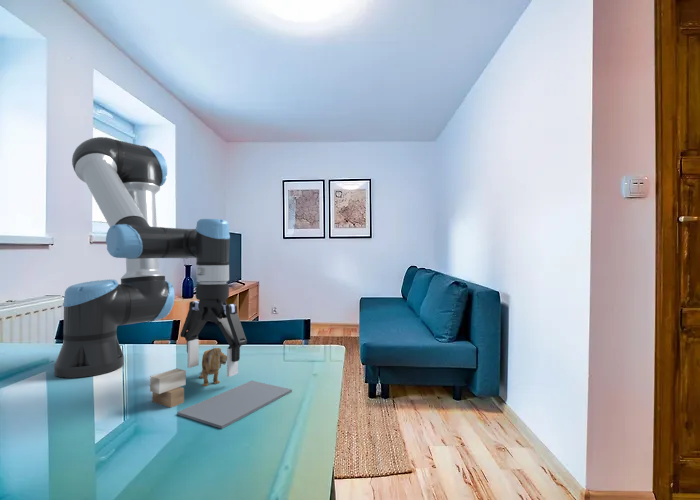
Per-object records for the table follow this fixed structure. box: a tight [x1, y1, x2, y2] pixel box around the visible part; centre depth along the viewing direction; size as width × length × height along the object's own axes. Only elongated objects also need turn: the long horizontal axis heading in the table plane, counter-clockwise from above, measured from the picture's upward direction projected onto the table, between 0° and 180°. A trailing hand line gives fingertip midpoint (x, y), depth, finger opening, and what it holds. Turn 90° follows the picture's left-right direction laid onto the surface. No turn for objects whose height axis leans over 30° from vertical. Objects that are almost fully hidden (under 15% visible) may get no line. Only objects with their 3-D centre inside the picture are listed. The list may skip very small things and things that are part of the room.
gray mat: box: [176, 380, 293, 430], centre depth 76 cm, size 12×20×1 cm, turn 152°
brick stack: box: [149, 368, 187, 408], centre depth 76 cm, size 6×6×6 cm
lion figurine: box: [199, 347, 227, 387], centre depth 89 cm, size 15×5×9 cm, turn 35°
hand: (212, 370), depth 88 cm, fingers open, 13 cm apart
